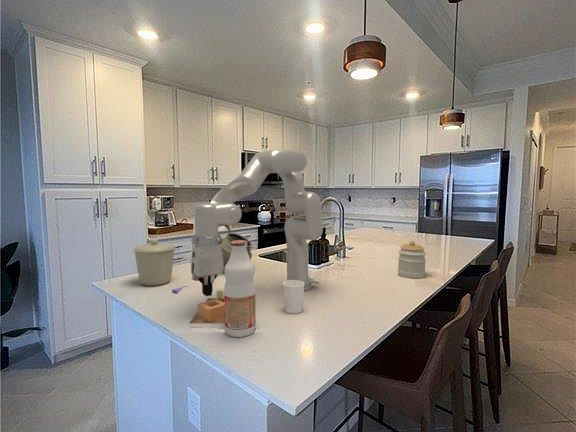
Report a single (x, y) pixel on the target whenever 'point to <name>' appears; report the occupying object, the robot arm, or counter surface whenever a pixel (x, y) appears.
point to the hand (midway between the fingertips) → (207, 294)
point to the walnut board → (200, 320)
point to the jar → (411, 261)
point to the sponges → (178, 289)
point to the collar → (211, 310)
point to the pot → (226, 244)
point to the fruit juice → (239, 292)
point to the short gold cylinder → (220, 295)
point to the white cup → (293, 296)
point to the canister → (154, 262)
